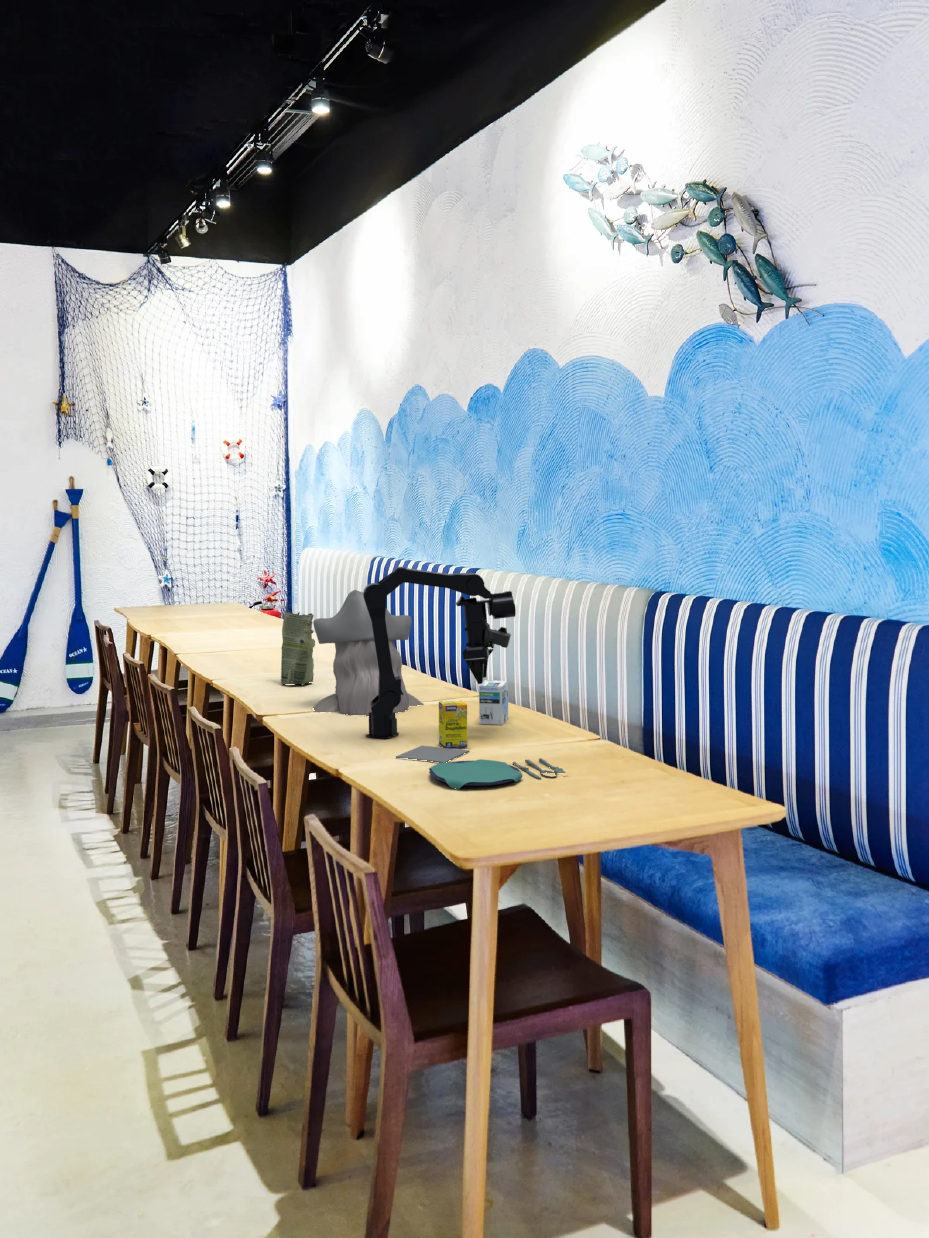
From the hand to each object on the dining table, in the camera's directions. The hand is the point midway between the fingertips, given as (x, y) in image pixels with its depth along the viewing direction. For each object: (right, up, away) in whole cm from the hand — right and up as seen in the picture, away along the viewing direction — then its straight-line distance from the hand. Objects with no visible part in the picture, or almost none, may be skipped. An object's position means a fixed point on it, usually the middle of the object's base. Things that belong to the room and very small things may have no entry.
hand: (482, 680), depth 268 cm
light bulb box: (+4, -13, +17) cm, 22 cm away
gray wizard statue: (-34, -10, +41) cm, 54 cm away
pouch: (-61, -7, +82) cm, 103 cm away
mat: (-12, -16, -23) cm, 31 cm away
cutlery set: (+2, -19, -43) cm, 47 cm away
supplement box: (-7, -16, -14) cm, 22 cm away
